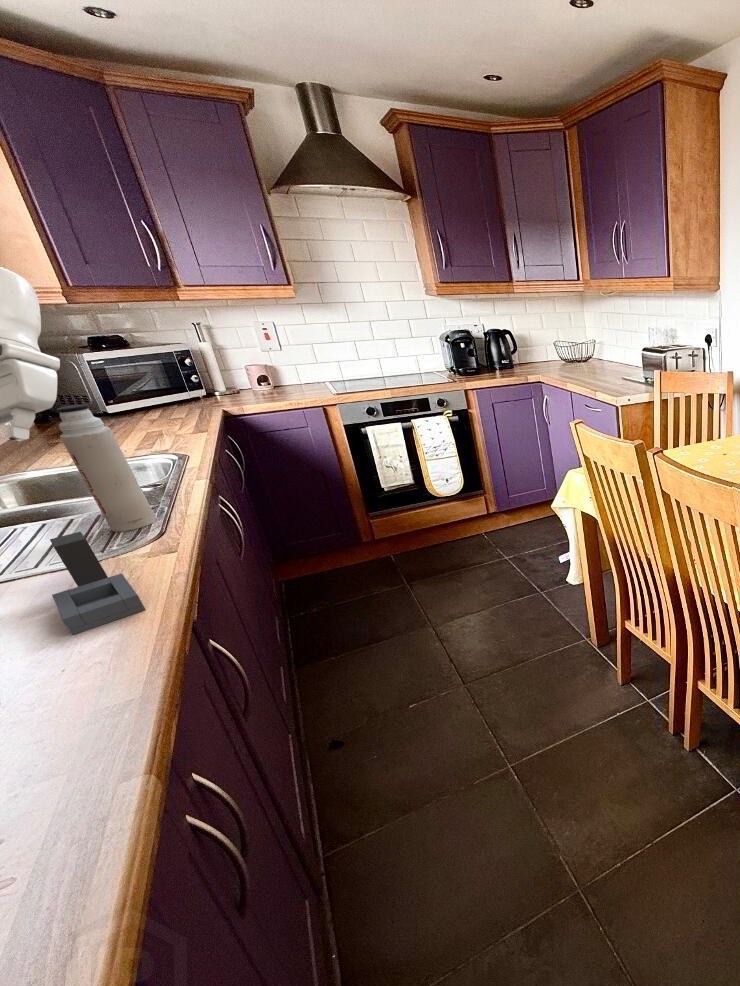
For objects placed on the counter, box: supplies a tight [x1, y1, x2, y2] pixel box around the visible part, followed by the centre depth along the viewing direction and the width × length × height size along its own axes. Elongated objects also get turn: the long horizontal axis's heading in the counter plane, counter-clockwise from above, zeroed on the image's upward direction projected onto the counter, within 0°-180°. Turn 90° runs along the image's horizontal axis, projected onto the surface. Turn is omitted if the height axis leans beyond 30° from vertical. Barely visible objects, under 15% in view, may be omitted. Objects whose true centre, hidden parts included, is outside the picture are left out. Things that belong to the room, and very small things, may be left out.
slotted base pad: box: [51, 573, 146, 636], centre depth 99 cm, size 14×9×3 cm, turn 52°
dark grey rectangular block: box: [49, 531, 109, 587], centre depth 106 cm, size 6×4×10 cm, turn 52°
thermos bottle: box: [56, 403, 157, 533], centre depth 131 cm, size 8×8×28 cm
